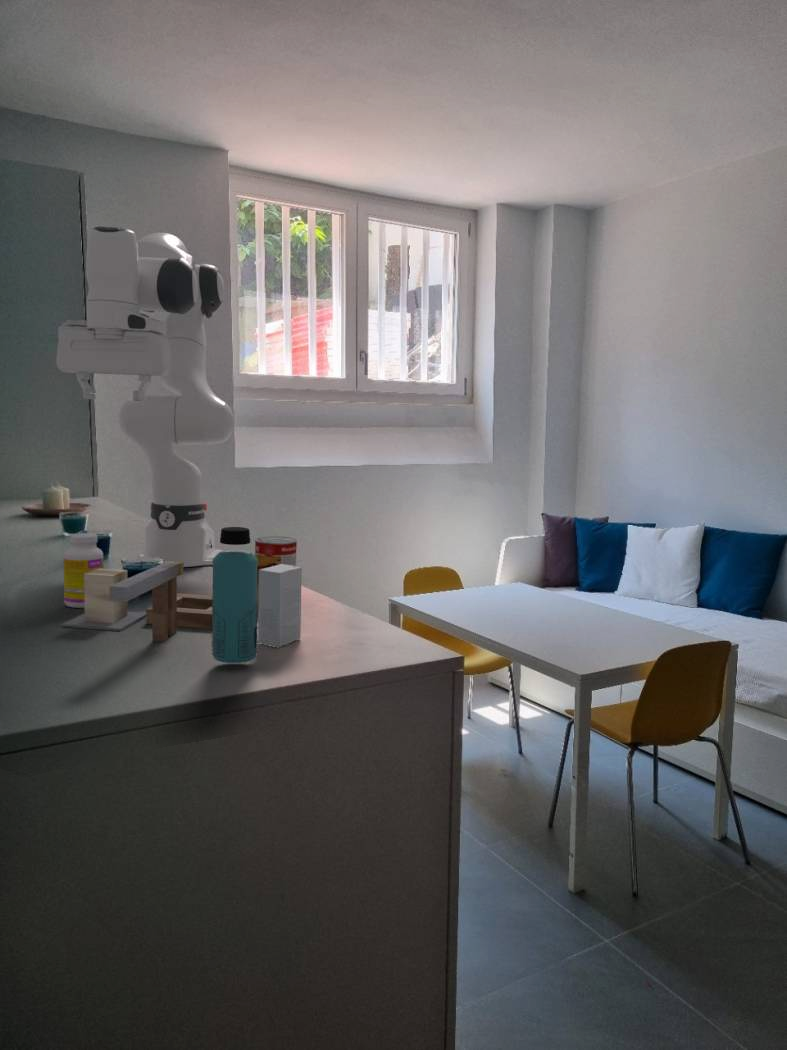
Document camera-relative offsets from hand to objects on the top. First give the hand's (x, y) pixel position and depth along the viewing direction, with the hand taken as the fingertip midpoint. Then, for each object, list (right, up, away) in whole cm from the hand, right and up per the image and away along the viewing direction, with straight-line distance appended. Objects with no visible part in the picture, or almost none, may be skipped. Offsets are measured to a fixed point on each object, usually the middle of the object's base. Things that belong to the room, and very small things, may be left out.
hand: (114, 400), depth 133 cm
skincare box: (+32, -41, -15) cm, 55 cm away
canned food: (+27, -37, +11) cm, 47 cm away
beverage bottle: (+28, -43, -28) cm, 58 cm away
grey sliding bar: (+14, -32, -23) cm, 41 cm away
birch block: (+2, -38, -8) cm, 39 cm away
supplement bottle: (-6, -37, +2) cm, 38 cm away
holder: (+15, -39, -8) cm, 43 cm away
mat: (+2, -39, -8) cm, 40 cm away
